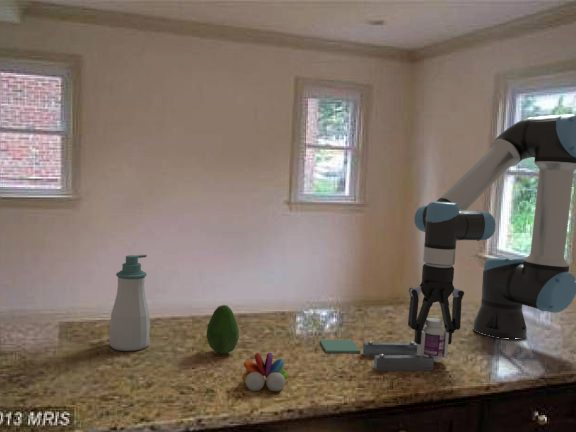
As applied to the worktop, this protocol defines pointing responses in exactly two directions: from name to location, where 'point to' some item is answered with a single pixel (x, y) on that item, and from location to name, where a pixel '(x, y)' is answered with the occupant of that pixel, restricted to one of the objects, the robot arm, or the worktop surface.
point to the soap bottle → (130, 309)
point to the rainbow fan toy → (264, 373)
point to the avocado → (223, 330)
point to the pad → (339, 346)
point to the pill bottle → (434, 338)
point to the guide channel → (397, 356)
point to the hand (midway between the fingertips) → (431, 356)
